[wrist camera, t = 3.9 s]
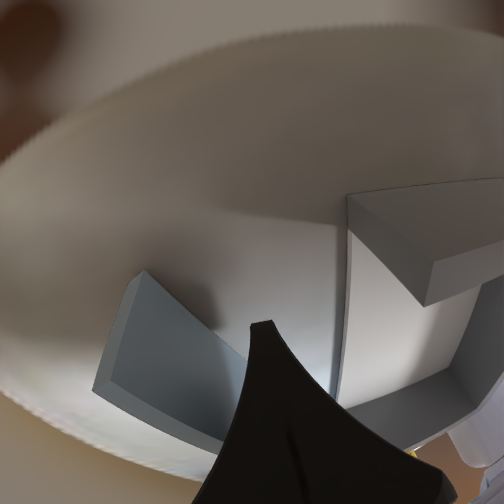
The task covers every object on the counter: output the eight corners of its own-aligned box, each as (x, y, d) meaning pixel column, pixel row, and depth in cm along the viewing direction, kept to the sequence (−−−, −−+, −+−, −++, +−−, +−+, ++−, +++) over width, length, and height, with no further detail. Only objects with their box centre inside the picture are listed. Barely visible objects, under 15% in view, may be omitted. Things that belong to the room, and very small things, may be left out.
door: (330, 420, 15) (351, 479, 11) (307, 431, 16) (324, 490, 12) (146, 267, 9) (112, 378, 5) (114, 294, 9) (76, 399, 5)
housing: (452, 367, 16) (481, 409, 12) (332, 415, 16) (353, 473, 12) (508, 177, 9) (574, 212, 5) (346, 194, 9) (433, 261, 5)
